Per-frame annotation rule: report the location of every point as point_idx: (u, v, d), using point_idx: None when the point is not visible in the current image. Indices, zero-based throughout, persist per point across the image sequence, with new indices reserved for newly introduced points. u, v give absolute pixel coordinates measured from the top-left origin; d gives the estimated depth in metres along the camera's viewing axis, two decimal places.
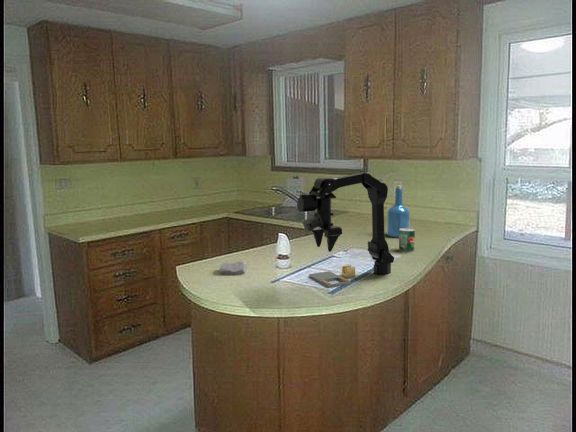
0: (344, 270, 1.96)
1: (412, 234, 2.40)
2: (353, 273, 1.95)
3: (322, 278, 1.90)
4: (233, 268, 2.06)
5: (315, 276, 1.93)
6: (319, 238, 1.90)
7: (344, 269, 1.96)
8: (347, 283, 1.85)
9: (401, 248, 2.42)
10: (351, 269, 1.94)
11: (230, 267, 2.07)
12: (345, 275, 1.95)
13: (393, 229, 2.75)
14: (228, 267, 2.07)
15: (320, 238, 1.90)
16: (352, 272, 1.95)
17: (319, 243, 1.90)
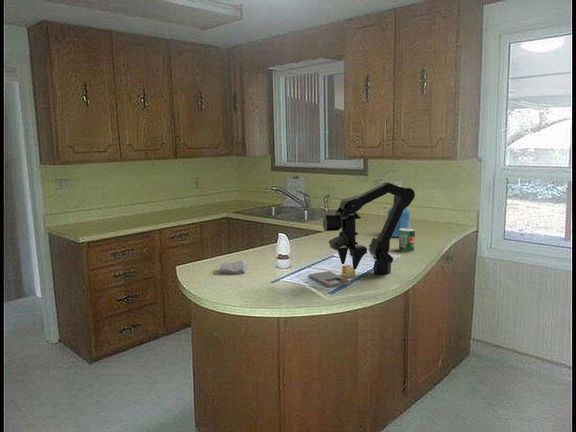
0: (344, 270, 1.96)
1: (413, 234, 2.40)
2: (353, 273, 1.95)
3: (322, 278, 1.90)
4: (233, 268, 2.07)
5: (315, 276, 1.93)
6: (343, 256, 2.00)
7: (344, 269, 1.96)
8: (347, 283, 1.85)
9: (401, 248, 2.42)
10: (351, 269, 1.94)
11: (230, 267, 2.07)
12: (345, 275, 1.95)
13: None
14: (228, 267, 2.07)
15: (344, 256, 2.00)
16: (352, 272, 1.95)
17: (343, 260, 2.00)
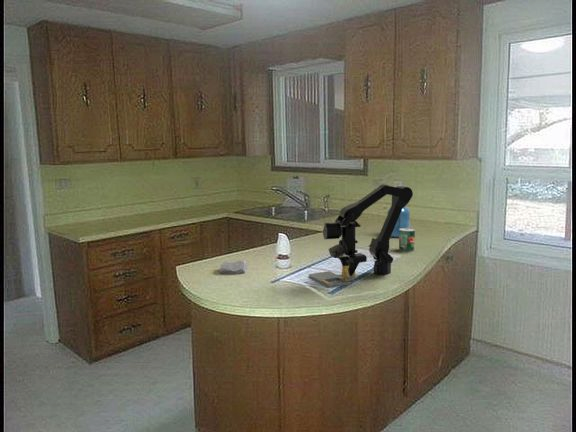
0: (344, 270, 1.96)
1: (413, 234, 2.40)
2: None
3: (322, 278, 1.90)
4: (233, 267, 2.07)
5: (315, 276, 1.93)
6: None
7: (344, 269, 1.96)
8: (347, 283, 1.85)
9: (401, 248, 2.42)
10: None
11: (230, 266, 2.08)
12: (345, 275, 1.95)
13: None
14: (228, 266, 2.08)
15: None
16: None
17: None
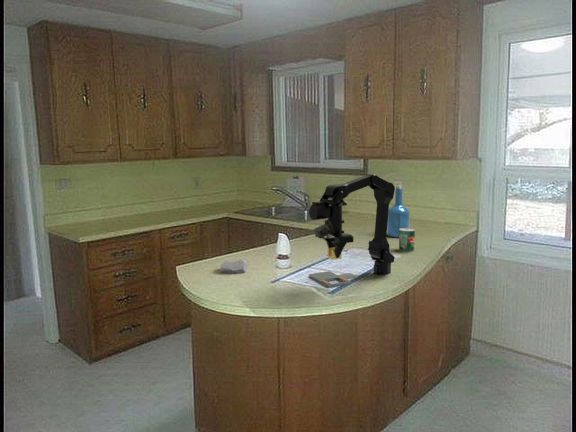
0: (330, 252, 1.86)
1: (413, 234, 2.40)
2: None
3: (322, 278, 1.90)
4: (234, 267, 2.08)
5: (315, 276, 1.93)
6: (332, 246, 1.87)
7: (330, 251, 1.85)
8: (347, 283, 1.85)
9: (401, 248, 2.42)
10: None
11: (231, 266, 2.09)
12: (331, 257, 1.84)
13: (393, 229, 2.75)
14: (229, 266, 2.09)
15: (333, 246, 1.87)
16: None
17: None
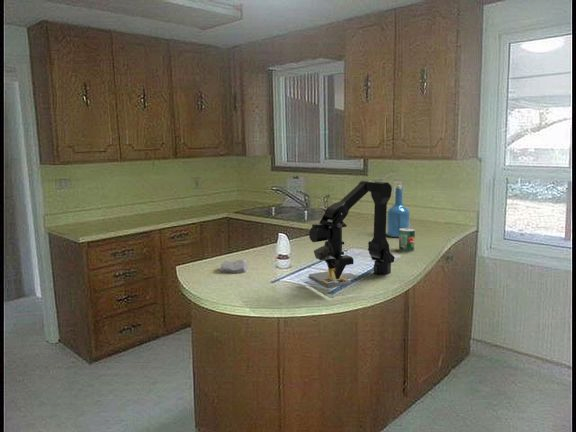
0: (330, 273, 1.87)
1: (413, 234, 2.40)
2: None
3: (322, 278, 1.90)
4: (234, 266, 2.09)
5: (315, 276, 1.93)
6: (333, 267, 1.88)
7: (330, 272, 1.87)
8: (347, 283, 1.85)
9: (401, 248, 2.42)
10: None
11: (231, 266, 2.09)
12: (331, 278, 1.85)
13: (393, 229, 2.75)
14: (229, 266, 2.09)
15: (334, 267, 1.88)
16: None
17: None
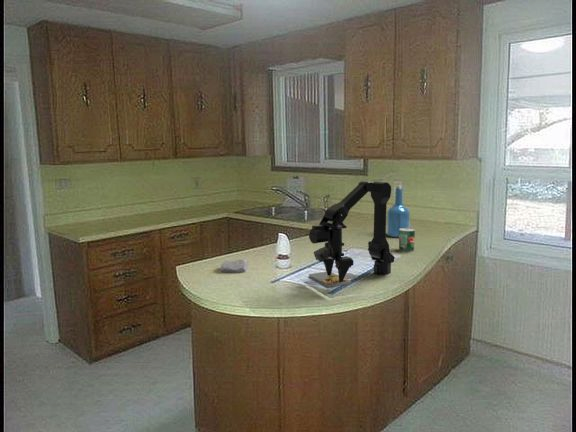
0: (330, 280, 1.87)
1: (412, 234, 2.40)
2: None
3: (322, 278, 1.90)
4: (234, 266, 2.09)
5: (315, 276, 1.93)
6: (330, 267, 1.91)
7: (330, 279, 1.87)
8: (347, 283, 1.85)
9: (401, 248, 2.42)
10: (337, 279, 1.85)
11: (231, 265, 2.10)
12: None
13: (393, 229, 2.75)
14: (229, 265, 2.10)
15: (331, 267, 1.91)
16: (338, 282, 1.85)
17: (329, 272, 1.91)
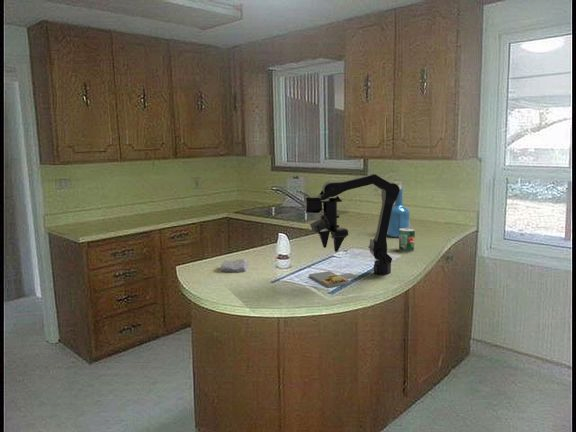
0: (330, 280, 1.87)
1: (412, 234, 2.40)
2: None
3: (322, 278, 1.90)
4: (234, 266, 2.10)
5: (315, 276, 1.93)
6: (325, 239, 2.00)
7: (330, 279, 1.87)
8: (347, 283, 1.85)
9: (401, 248, 2.42)
10: (337, 279, 1.85)
11: (231, 265, 2.11)
12: None
13: (393, 229, 2.75)
14: (229, 265, 2.11)
15: (326, 239, 2.00)
16: (338, 282, 1.85)
17: (325, 244, 2.00)
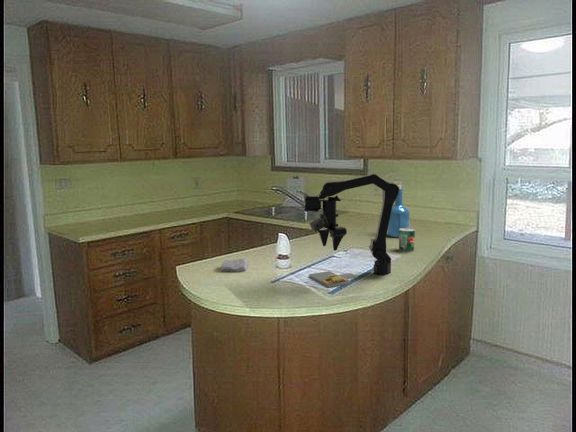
0: (330, 280, 1.87)
1: (412, 234, 2.40)
2: None
3: (322, 278, 1.90)
4: (234, 265, 2.11)
5: (315, 276, 1.93)
6: (325, 238, 2.03)
7: (330, 279, 1.87)
8: (347, 283, 1.85)
9: (401, 248, 2.42)
10: (337, 279, 1.85)
11: (231, 264, 2.11)
12: None
13: (393, 229, 2.75)
14: (229, 264, 2.11)
15: (326, 238, 2.03)
16: (338, 282, 1.85)
17: (324, 242, 2.03)
